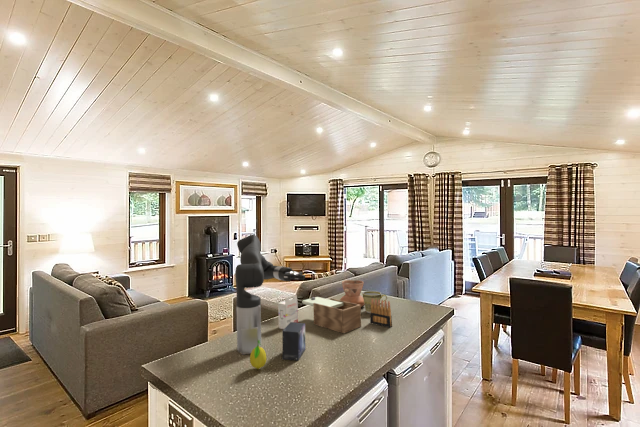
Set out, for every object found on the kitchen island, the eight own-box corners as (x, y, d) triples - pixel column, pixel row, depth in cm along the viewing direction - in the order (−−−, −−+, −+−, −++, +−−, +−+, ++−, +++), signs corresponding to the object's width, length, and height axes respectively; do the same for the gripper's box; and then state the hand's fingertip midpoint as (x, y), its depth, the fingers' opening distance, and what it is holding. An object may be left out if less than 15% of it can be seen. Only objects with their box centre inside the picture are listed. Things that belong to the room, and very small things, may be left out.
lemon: (260, 363, 118) (259, 334, 118) (271, 367, 114) (271, 338, 114) (244, 370, 112) (244, 340, 112) (256, 375, 109) (255, 344, 109)
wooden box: (361, 326, 154) (360, 304, 154) (343, 333, 146) (343, 310, 146) (331, 318, 168) (330, 298, 168) (313, 324, 159) (313, 303, 159)
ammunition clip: (392, 326, 154) (391, 300, 154) (390, 327, 152) (389, 301, 152) (372, 322, 160) (371, 297, 161) (370, 323, 159) (369, 297, 159)
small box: (299, 361, 119) (298, 331, 119) (281, 360, 120) (281, 330, 120) (306, 349, 129) (306, 322, 129) (290, 348, 130) (289, 321, 130)
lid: (343, 305, 161) (343, 300, 161) (328, 310, 153) (328, 304, 153) (317, 299, 173) (317, 294, 173) (302, 303, 166) (302, 298, 166)
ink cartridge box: (290, 323, 161) (290, 292, 161) (298, 325, 158) (297, 294, 158) (278, 328, 154) (277, 296, 154) (286, 330, 151) (285, 297, 151)
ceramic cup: (361, 313, 174) (360, 294, 174) (364, 308, 184) (364, 290, 184) (386, 315, 171) (386, 295, 171) (388, 310, 180) (387, 291, 180)
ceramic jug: (357, 312, 177) (357, 285, 178) (334, 308, 185) (334, 282, 185) (371, 304, 193) (371, 280, 193) (348, 301, 200) (349, 277, 201)
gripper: (273, 268, 180) (294, 271, 168) (292, 265, 190) (313, 268, 178) (273, 282, 180) (294, 286, 168) (292, 278, 190) (313, 282, 178)
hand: (304, 277), depth 173 cm, fingers closed
